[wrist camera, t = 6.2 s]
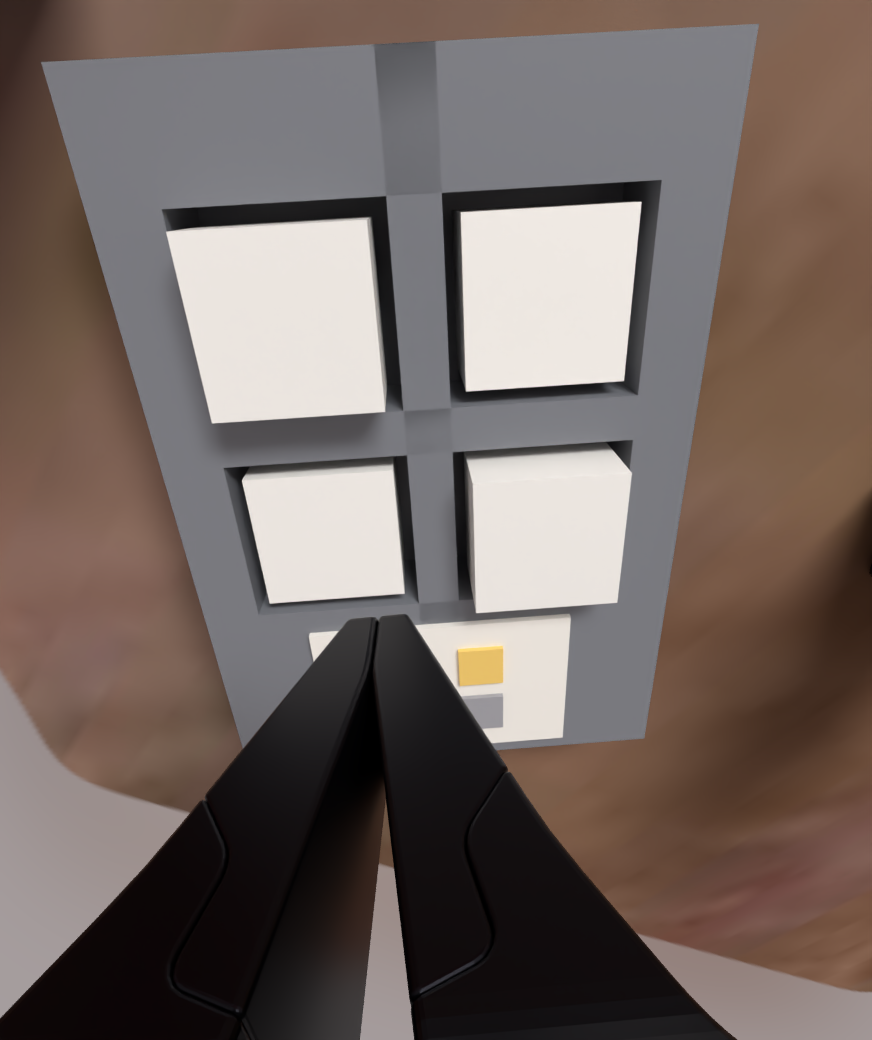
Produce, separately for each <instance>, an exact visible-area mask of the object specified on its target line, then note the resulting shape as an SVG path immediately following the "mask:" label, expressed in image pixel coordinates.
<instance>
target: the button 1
mask: <svg viewBox="0 0 872 1040" xmlns="http://www.w3.org/2000/svg"><path fill="white" fill-rule="evenodd" d="M166 234H167V238H168V242H169V246H170V250H171V255H172V259H173V263H174V267H175V271H176V275H177V280H178V284H179V288H180V292H181V296H182V300H183V305H184V309H185V313H186V317H187V321H188V325H189V330H190V334H191V338H192V342H193V346H194V350H195V355H196V359H197V363H198V367H199V371H200V375H201V380H202V384H203V388H204V392H205V396H206V400H207V404H208V409H209V413H210V417H211V421H212V424H213V423H228V422H243V421H258V420H273V419H288V418H303V417H318V416H333V415H347V414H362V413H377V412H385V408H386V393H387V375H386V364H385V353H384V342H383V332H382V321H381V310H380V299H379V288H378V277H377V266H376V255H375V244H374V233H373V222H372V216H369V217H352V218H336V219H319V220H302V221H285V222H268V223H252V224H235V225H218V226H202V227H195V228H188V229H182V230H175V231H168V232H166Z"/></svg>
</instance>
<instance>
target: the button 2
mask: <svg viewBox="0 0 872 1040" xmlns="http://www.w3.org/2000/svg"><path fill="white" fill-rule="evenodd" d="M242 483H243V488H244V492H245V496H246V501H247V505H248V510H249V514H250V519H251V523H252V527H253V532H254V536H255V541H256V545H257V549H258V554H259V558H260V563H261V567H262V572H263V576H264V580H265V585H266V589H267V594H268V598H269V603H270V604H271V603H284V602H298V601H311V600H325V599H339V598H352V597H366V596H379V595H393V594H405V583H404V543H403V532H402V521H401V510H400V499H399V488H398V477H397V466H396V456H389V457H375V458H360V459H345V460H331V461H316V462H302V463H287V464H272V465H258V466H250V467H249V469H248V471H247V473H246V474H245V476H244V478H243V480H242Z"/></svg>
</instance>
